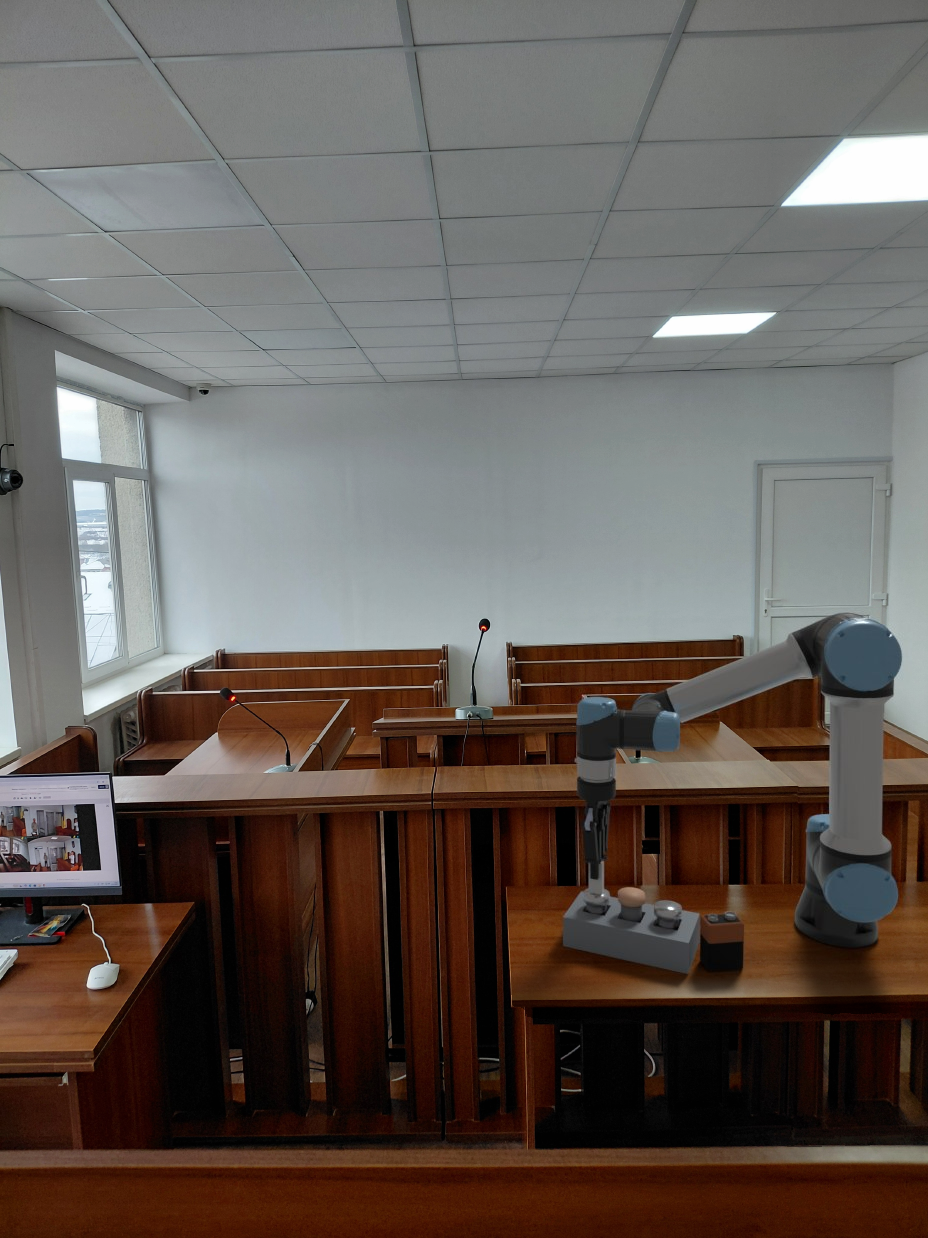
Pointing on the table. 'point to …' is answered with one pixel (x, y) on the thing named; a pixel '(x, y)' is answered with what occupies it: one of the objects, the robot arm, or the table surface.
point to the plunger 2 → (667, 914)
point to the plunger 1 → (596, 902)
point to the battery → (721, 942)
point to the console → (632, 936)
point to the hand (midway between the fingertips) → (596, 892)
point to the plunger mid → (631, 903)
